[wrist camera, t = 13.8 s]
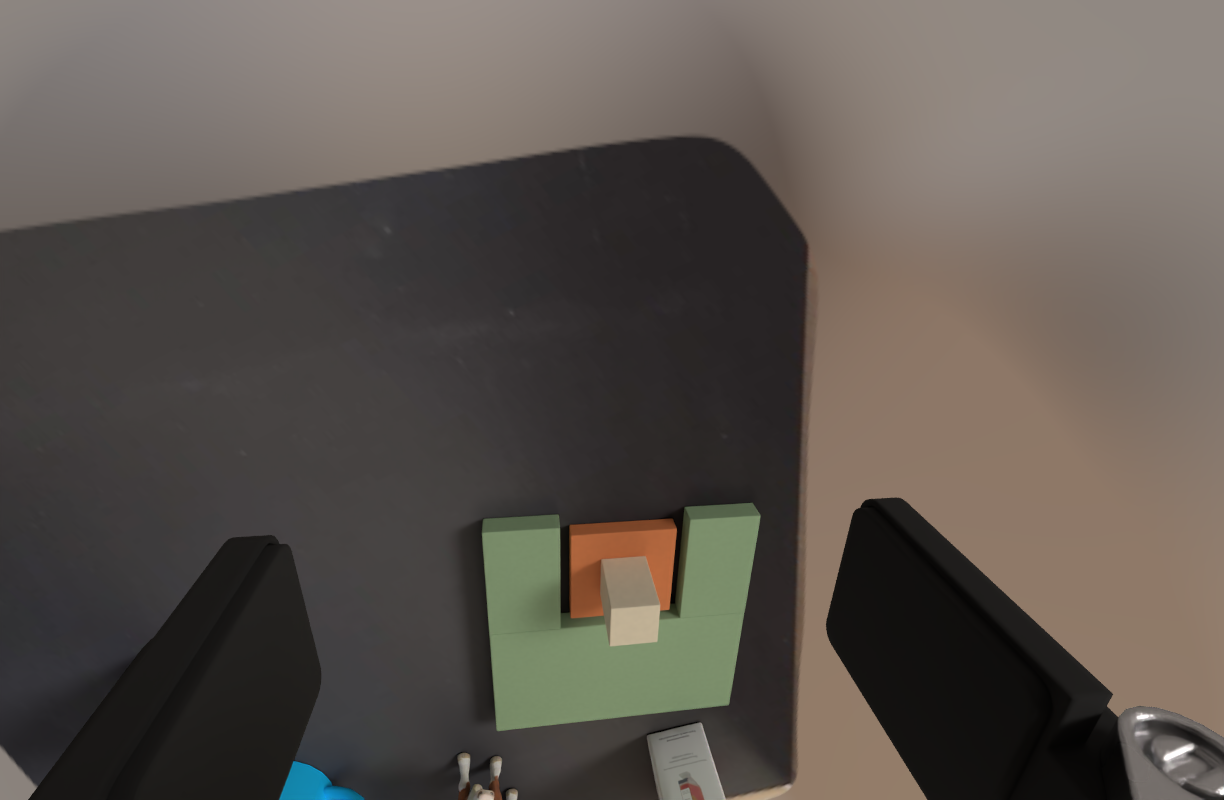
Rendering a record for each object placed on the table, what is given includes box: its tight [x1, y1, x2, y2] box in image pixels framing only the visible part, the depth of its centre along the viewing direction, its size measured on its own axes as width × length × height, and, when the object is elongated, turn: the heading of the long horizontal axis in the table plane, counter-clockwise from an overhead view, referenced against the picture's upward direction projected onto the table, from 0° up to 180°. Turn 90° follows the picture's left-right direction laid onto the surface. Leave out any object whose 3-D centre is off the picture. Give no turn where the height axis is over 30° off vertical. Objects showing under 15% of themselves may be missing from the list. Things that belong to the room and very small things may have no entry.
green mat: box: [482, 503, 760, 731], centre depth 40 cm, size 18×18×2 cm
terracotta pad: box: [569, 518, 677, 646], centre depth 36 cm, size 7×7×6 cm
